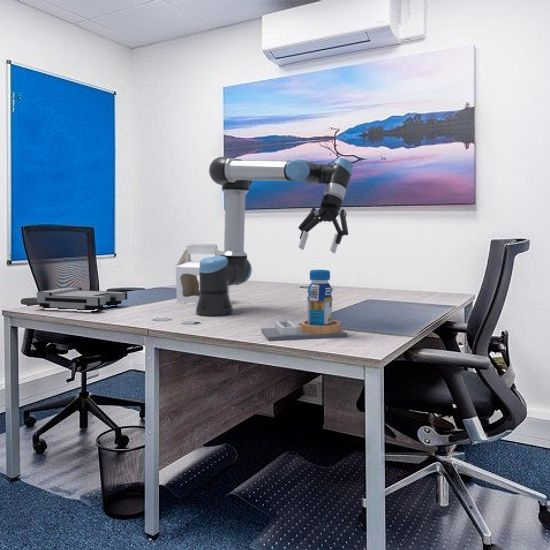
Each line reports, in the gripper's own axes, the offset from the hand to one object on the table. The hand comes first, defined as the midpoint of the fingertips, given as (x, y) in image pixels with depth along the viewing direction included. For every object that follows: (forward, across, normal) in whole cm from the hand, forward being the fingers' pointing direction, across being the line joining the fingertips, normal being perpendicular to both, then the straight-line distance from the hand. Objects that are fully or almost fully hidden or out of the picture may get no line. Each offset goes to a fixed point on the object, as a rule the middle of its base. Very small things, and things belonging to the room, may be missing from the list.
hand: (316, 250), depth 185 cm
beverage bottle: (+29, -12, +1) cm, 31 cm away
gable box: (+22, +72, -28) cm, 81 cm away
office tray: (+44, +103, +10) cm, 113 cm away
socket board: (+32, -8, +4) cm, 33 cm away
